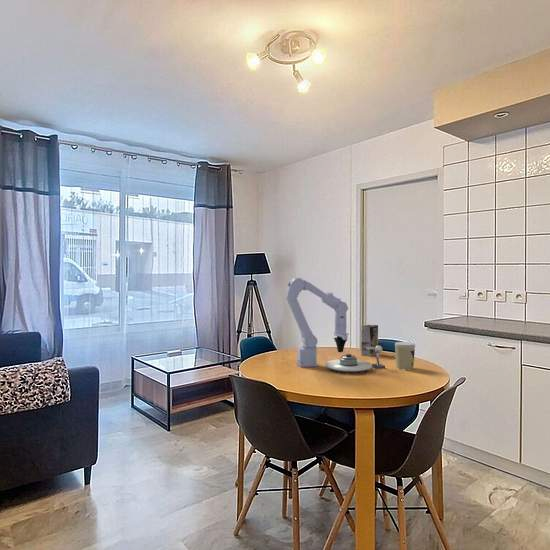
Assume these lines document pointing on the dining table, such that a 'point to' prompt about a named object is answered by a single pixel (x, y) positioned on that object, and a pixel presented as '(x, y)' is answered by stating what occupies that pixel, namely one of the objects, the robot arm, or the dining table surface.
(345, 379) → the dining table surface
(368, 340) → the coffee box
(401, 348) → the coffee cup
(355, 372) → the turntable base
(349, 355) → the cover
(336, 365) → the platter
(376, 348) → the dial gauge
